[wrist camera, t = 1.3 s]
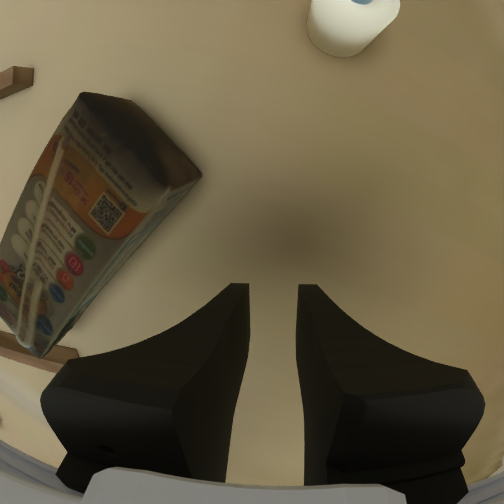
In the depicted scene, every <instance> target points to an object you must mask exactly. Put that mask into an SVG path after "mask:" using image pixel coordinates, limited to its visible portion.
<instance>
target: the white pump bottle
mask: <svg viewBox="0 0 504 504" xmlns="http://www.w3.org/2000/svg"><path fill="white" fill-rule="evenodd" d="M399 8H400V0H312V2H311V7H310V11H309V15H308V19H307V25H306V28H307V33H308V36H309V38H310V40H311V41H312V43H313V44H314V45H315V46H316V47H317V48H318V49H320V50H321V51H323V52H324V53H326V54H328V55H331V56H335V57H350V56H354V55H356V54H358V53H359V52H361V51H362V50H363V49H364V48H365V47H366V46H367V45H368V44H369V43H370V42H371V41H372V40H373V39H374V38H375V37H376V36H377V35H378V34H379V33H380V32H381V31H382V30H383V29H384V28H385V27H386V26H387V25H389V24H390V23H391V22H392V21H393V20H394V19H395V17H396V16H397V14H398V12H399Z"/></svg>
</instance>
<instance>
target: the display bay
mask: <svg viewBox="0 0 504 504" xmlns="http://www.w3.org/2000/svg"><path fill="white" fill-rule="evenodd" d="M30 86H33V68H25V67H18V66H12V67H10V68H8V69H6V70H4V71H3V72H1V73H0V99H2V98H4V97H6V96H9V95H11V94H13V93H16V92H18V91H20V90H23V89H25V88H28V87H30ZM0 356H3V357H5V358H8V359H11V360H14V361H17V362H20V363H23V364H26V365H30V366H33V367H36V368H39V369H43V370H46V371H50V372H53V373H58V372H59V370H60V369H61V368H62V367H63V365H64V364H65V363H66V362H67V361H68V359H75V358H79V356H78V353H77V350H76V349H72V348H67V347H62V346H58V345H55V347H54V348H53V349H52V350H51V351H50V352H49V353H48V354H46V355H45V356H44V357H43V358H42V359H38V358H37V357H36V356H35V355H34V354H33V353H32V352H31V351H30V350H29V349H28V348H26V347H24V346H22V345H21V344H20V343H19V342H18V340H17V339H16V335H13V334H9V333H5V332H2V331H0Z"/></svg>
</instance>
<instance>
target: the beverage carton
mask: <svg viewBox="0 0 504 504" xmlns="http://www.w3.org/2000/svg"><path fill="white" fill-rule="evenodd" d="M201 176H202V174H201V172H200V171H199V170H198V169H197V168H196V167H195V166H194V165H193V163H192V162H191V161H190V160H189V159H188V158H187V157H186V156H185V155H184V154H183V153H182V152H181V151H180V150H179V149H178V148H177V147H176V146H175V145H174V144H173V143H172V142H171V141H170V140H169V139H168V138H167V136H166V135H165V134H164V133H163V132H162V131H161V130H160V129H159V128H158V127H157V126H156V125H155V124H154V123H153V122H152V121H151V120H150V119H149V118H148V116H147V115H146V114H145V113H144V112H143V111H142V110H141V109H140V108H139V107H138V106H137V105H136V104H135V103H134V102H132V101H131V100H126V99H123V98H117V97H113V96H107V95H103V94H98V93H91V92H82V93H80V94H79V96H78V98H77V100H76V101H75V103H74V104H73V106H72V107H71V108H70V110H69V111H68V112H67V113H66V115H65V116H64V117H63V119H62V121H61V122H60V124H59V125H58V127H57V129H56V131H55V132H54V134H53V136H52V137H51V139H50V141H49V142H48V144H47V146H46V148H45V149H44V151H43V153H42V155H41V156H40V158H39V160H38V162H37V164H36V165H35V167H34V169H33V171H32V173H31V175H30V177H29V179H28V181H27V183H26V185H25V188H24V190H23V192H22V194H21V196H20V198H19V201H18V203H17V205H16V207H15V210H14V212H13V214H12V216H11V219H10V221H9V223H8V225H7V228H6V231H5V233H4V236H3V238H2V241H1V243H0V317H1V318H2V319H3V321H4V322H5V323H6V324H7V325H8V327H9V328H10V329H11V330H12V331H13V333H14V334H15V335H16V339H17V340H18V342H19V343H20V344H21V345H22V346H24V347H26V348H28V349H29V350H30V351H31V352H32V353H33V354H34V355H35V356H36V357H37V358H38V359H42V358H43V357H44V356H45V355H46V354H48V353H49V352H50V351H51V350H52V349H53V348H54V347H55V345H56V344H57V343H58V342H59V341H60V340H61V339H62V338H63V337H64V336H65V334H66V333H67V332H68V331H69V330H70V329H71V328H72V327H73V326H74V324H75V323H76V322H77V320H78V319H79V318H80V316H81V315H82V313H83V312H84V311H85V309H86V308H87V307H88V305H89V304H90V303H91V302H92V300H93V299H94V298H95V297H96V296H97V294H98V293H99V292H100V291H101V289H102V288H103V287H104V286H105V285H106V284H107V283H108V281H109V280H110V279H111V278H112V277H113V275H114V274H115V273H116V272H117V271H118V270H119V269H120V267H121V266H122V265H123V264H124V263H125V262H126V261H127V260H128V258H129V257H130V256H131V255H132V254H133V253H134V251H135V250H136V249H137V248H138V247H139V246H140V245H141V244H142V242H143V241H144V240H145V239H146V238H147V237H148V236H149V234H150V233H151V232H152V231H153V230H154V229H155V228H156V227H157V226H158V224H159V223H160V222H161V221H162V220H163V219H164V218H165V217H166V216H167V214H168V213H169V212H170V211H171V210H172V209H173V208H174V207H175V206H176V204H177V203H178V202H179V201H180V200H181V198H182V197H183V196H184V195H185V194H186V193H187V192H188V191H189V189H190V188H191V187H192V186H193V185H194V184H195V182H196V181H197V180H198V179H199V178H200V177H201Z"/></svg>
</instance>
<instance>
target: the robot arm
mask: <svg viewBox="0 0 504 504" xmlns="http://www.w3.org/2000/svg"><path fill="white" fill-rule="evenodd" d="M249 342H250V303H249V284H246V283H231V284H229V285H228V286H227V287H226V288H225V289H224V290H222V291H221V292H220V293H219V294H218V295H217V296H216V297H214V298H213V299H212V300H211V301H210V302H208V303H207V304H206V305H205V306H203V307H202V308H201V309H199V310H198V311H196V312H195V313H194V314H192V315H191V316H189V317H188V318H187V319H185V320H183V321H182V322H180V323H179V324H177V325H175V326H173V327H171V328H170V329H168V330H166V331H164V332H162V333H160V334H158V335H155V336H153V337H151V338H148V339H146V340H143V341H141V342H139V343H136V344H133V345H130V346H127V347H124V348H121V349H117V350H114V351H110V352H106V353H102V354H97V355H92V356H86V357H81V358H75V359H68V361H67V362H66V363H65V364H64V365H63V367H62V368H61V369H60V370H59V372H58V373H57V374H56V375H55V377H54V378H53V379H52V381H51V382H50V383H49V384H48V386H47V387H46V388H45V390H44V391H43V392H42V395H41V398H40V402H41V407H42V411H43V414H44V416H45V418H46V420H47V422H48V423H49V425H50V427H51V428H52V430H53V431H54V433H55V434H56V436H57V437H58V439H59V440H60V442H61V443H62V445H63V446H64V448H65V449H66V451H67V454H66V456H65V458H64V459H63V461H62V463H61V465H60V467H59V468H55V467H53V466H51V465H49V464H46V463H44V462H42V461H40V460H38V459H36V458H34V457H32V456H30V455H28V454H26V453H24V452H22V451H20V450H18V449H16V448H14V447H12V446H10V445H8V444H7V443H5V442H3V441H1V440H0V504H504V472H502V473H499V474H497V475H494V476H492V477H489V478H487V479H484V480H481V481H479V482H476V483H473V484H470V485H466V482H465V479H464V476H463V474H462V471H461V468H460V467H462V466H463V465H464V464H465V459H464V456H463V454H462V451H461V450H462V448H463V447H464V446H465V444H466V443H467V441H468V440H469V438H470V437H471V435H472V434H473V432H474V431H475V429H476V428H477V426H478V424H479V422H480V420H481V418H482V416H483V414H484V408H485V401H484V398H483V395H482V394H481V392H480V390H479V388H478V387H477V385H476V384H475V382H474V380H473V379H472V377H471V375H470V374H469V372H468V371H467V370H464V369H460V368H456V367H452V366H448V365H444V364H440V363H436V362H433V361H430V360H427V359H425V358H422V357H419V356H416V355H414V354H411V353H409V352H407V351H404V350H402V349H400V348H398V347H396V346H394V345H392V344H390V343H388V342H386V341H384V340H383V339H381V338H379V337H378V336H376V335H374V334H373V333H371V332H370V331H368V330H367V329H365V328H364V327H362V326H361V325H360V324H358V323H357V322H356V321H355V320H353V319H352V318H351V317H350V316H348V315H347V314H346V313H345V312H344V311H343V310H342V309H340V308H339V307H338V306H337V305H336V304H335V303H334V302H333V301H332V300H331V299H330V298H329V297H328V296H327V295H326V294H325V293H324V292H323V291H322V289H321V288H320V287H319V286H318V285H317V284H299V286H298V305H297V322H296V361H297V368H298V375H299V382H300V389H301V396H302V403H303V411H304V440H305V453H304V486H261V485H243V484H231V483H225V480H226V471H227V462H228V454H229V446H230V438H231V431H232V423H233V417H234V412H235V407H236V403H237V399H238V395H239V391H240V387H241V383H242V379H243V375H244V371H245V367H246V363H247V359H248V351H249Z"/></svg>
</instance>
